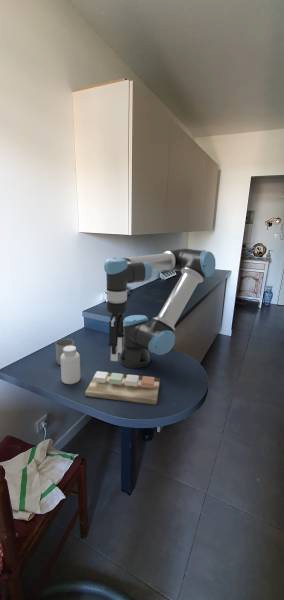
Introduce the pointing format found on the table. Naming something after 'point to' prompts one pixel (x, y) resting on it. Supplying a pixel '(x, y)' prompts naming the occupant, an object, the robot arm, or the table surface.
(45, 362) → the table surface
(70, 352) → the pill bottle
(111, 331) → the robot arm
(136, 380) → the white key
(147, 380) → the key terracotta
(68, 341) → the cup
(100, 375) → the white key
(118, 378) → the key sage
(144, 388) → the keypad board
